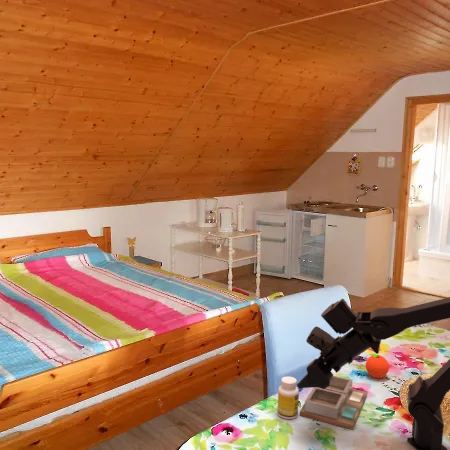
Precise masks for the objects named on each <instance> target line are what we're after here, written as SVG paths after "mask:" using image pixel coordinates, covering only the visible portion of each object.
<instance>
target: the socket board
mask: <svg viewBox="0 0 450 450" xmlns="http://www.w3.org/2000/svg"><path fill="white" fill-rule="evenodd" d="M327 388H331V389H336V390H340V391H344V389H341V388H337V387H332V386H328V387H327ZM367 397H368V392H367V391H363V390H358V389H355V388H352V390H351V392H350V395H349V397H348V399H347V401H346V403H345V405H344V407H343V409H342V411H341V413H340V415H339V417H338V419H337V420H336V419H332V418H328V417H324V416H320V415H316V414H312V413H308V412H305V403H304V404H303V406H302V407H301V408H300V409H299V416H300V417H305V418H307V419H311V420H315V421H319V422H323V423H327V424H331V425H335V426H338V427H342V428H346V429H350V430H354V428H355V427H356V425H357V421H358V419H359V417H360V414H361V412H362V409H363V407H364V404H365V402H366V399H367ZM314 402H318V403H322V404H326V405H330V406H334V407H336V405H337V404H336V403H331V402H327V401H323V400H319V399H315V401H314Z"/></svg>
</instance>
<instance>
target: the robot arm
mask: <svg viewBox="0 0 450 450" xmlns="http://www.w3.org/2000/svg"><path fill="white" fill-rule="evenodd" d="M320 316H321V318H322V319H323V320H324V321H325V323H327V324H328V325H329V327H330V328H331V329H332V330H333V332H335V333H336V334H339V335H343V336H337V337H336V338H335V337H333V336H332V335H331V334H330V333H328V332H326V331H325V330H324V329H322V328H321V327H319V326H314V327H313V329H311V331H310V333H309V335H308V336H307V338H306V340H305V341H306V343H307V344H308V345H310V347H311V346H312V347H313V348H314V349H316V350H319V357H318V358H314V360H312V361H311V362H310V363H309V364H308V365H307V367H306V368H305V369H306V370H305V371H306V372H307V373H306V374H305V375H304V376H303V377H302V379H300V381H299V382H297V385H296V387H297V388H298V389H309V388H312V389H313V388H314V387H320V388H321V389H325V388H327V387H328V386H329V385H330V384H331V382H332V380H333V376H334V374H333V372H332V370H334V372H335V373H336V374H337V373H338V372H340V370H341V369H342V368H343V367H344V366H345V365H347V364H348V365H350V364H351V363H353V361H354V359H356V358H357V357H359V356H360V355H362V354H363V353H364V352H366V351H367V350H369V349H370V348H371V350H372V351H373V352H374V354H376V355H379V352H380V348H381V343H382V340H387V339H389V338H392V337H395V336H396V335H400V334H401V333H402V332H404V331H405V330H408V329H409V328H413V327H417V326H422V325H425V324H429V323H430V324H431V323H434V322H438V321H443V320H447V319H450V296H449V297H445V298H440V299H436V300H432V301H428V302H424V303H420V304H416V305H413V306H408V307H400V308H399V307H382V308H380V307H379V308H376V309H373V310H372V311H357V312H355V311H354V310H353V309H352V308H351V307H350V306H349V304H348V302H347V301H346V300H345V299H344V298H341V299H340V300H337V301H335V302H334V303H331V304H330V305H329V306H328V307H327V308H326V309H325V310H323V312H322V313H321V314H320ZM449 391H450V358H449V359H448V360H447V361H446V362H445V363H444V364H443V365H442V366H440V368H439V369H438V370H437V371H436V372H435V373H434V374H433V375H432V376H430V377H428V378H426V379H424V378H423V377H422V376H420V375H419V376H418V377H416V380H415V381H414V382H413V383H412V384H409V385H408V391H407V392H406V394H407V396H406V397H407V411H408V414H409V415H410V416H411V418H413V420H412V429H411V436H410V437H407V438H406V441H407V442H408V443H409V444H410V445H411V446H412V447H414V448H415V449H416V450H448V448H447V447H446V446H444V445H443V438H444V428H445V425H444V418H443V413H442V408H441V406H442V403H443V401H444V399H445V398H446V397H445V396H446V395H447V393H449Z"/></svg>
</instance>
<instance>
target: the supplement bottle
mask: <svg viewBox="0 0 450 450" xmlns="http://www.w3.org/2000/svg"><path fill="white" fill-rule="evenodd" d="M280 383H281V384H280V385H279V387H278V390H277V393H278V394H277V414H278V416H279V417H280V418H282V419H285V420H293V419H295V418H297V417H298V415H299V397H300V388H299V387H298V386H297V384H298V382H297V379H296V378H295V377H293V376H283V377H281V382H280Z"/></svg>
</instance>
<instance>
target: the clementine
mask: <svg viewBox="0 0 450 450" xmlns="http://www.w3.org/2000/svg"><path fill="white" fill-rule="evenodd" d="M368 356H369V357H368V358H367V356H365V357H364V358H365V359H366V358H367V360H366V362H365V370H366V372H367V373H368V375H369V376H371V377H372V378H375V379H382V378H385V376H387V375H388V373H389V369H390V364H389V361H388V360H387V358H386V357H384V356H382V355H380V354H376V353H369V354H368Z"/></svg>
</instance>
